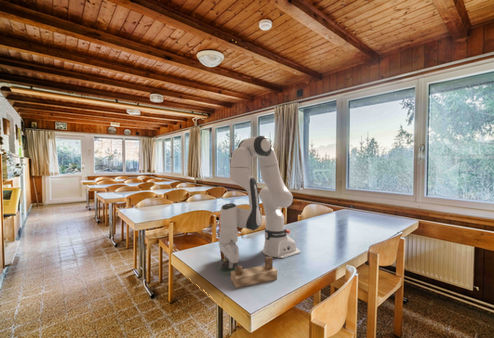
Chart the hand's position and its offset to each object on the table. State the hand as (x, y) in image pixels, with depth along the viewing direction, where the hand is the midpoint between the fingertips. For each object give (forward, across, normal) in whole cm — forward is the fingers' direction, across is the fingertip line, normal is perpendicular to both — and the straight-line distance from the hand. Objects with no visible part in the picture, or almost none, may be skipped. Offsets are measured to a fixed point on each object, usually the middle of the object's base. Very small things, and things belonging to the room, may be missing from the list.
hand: (228, 265), depth 114 cm
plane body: (+3, -13, -8) cm, 15 cm away
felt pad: (+3, 0, 0) cm, 3 cm away
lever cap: (+1, 0, 0) cm, 1 cm away
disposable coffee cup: (+3, +11, -3) cm, 12 cm away
